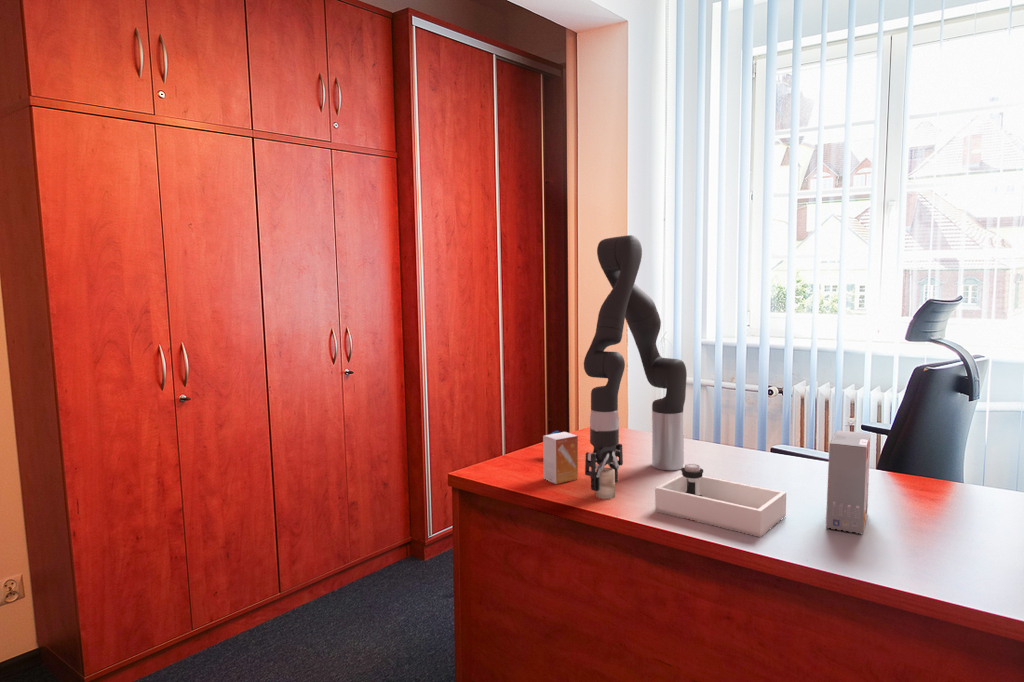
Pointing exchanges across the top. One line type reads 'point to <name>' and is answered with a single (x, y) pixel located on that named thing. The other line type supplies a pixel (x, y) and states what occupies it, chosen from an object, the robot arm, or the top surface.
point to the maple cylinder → (606, 484)
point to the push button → (692, 478)
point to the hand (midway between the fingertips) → (604, 486)
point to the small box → (560, 457)
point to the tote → (723, 504)
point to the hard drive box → (848, 481)
